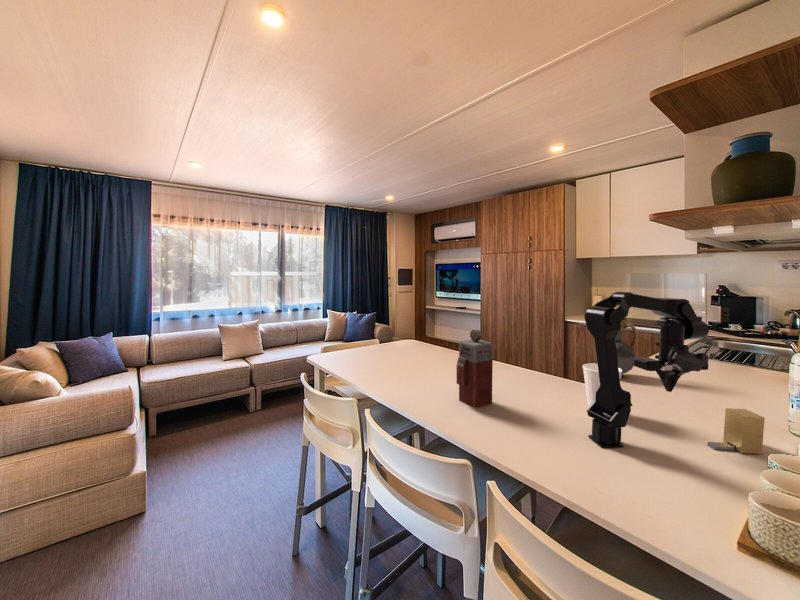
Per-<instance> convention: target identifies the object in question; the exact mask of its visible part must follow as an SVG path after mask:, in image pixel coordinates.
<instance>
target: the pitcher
mask: <svg viewBox="0 0 800 600" xmlns="http://www.w3.org/2000/svg"><path fill="white" fill-rule="evenodd" d="M626 322H627V317H625V318H624V319H623V320H622V321H621V324H620V330H619V332H618V334H617V335H616V337H615V342H616V351H617V360H618V368H620V369H622V371H623V372H622V374H621V379H623V378H625V375H624V374H627V373H629V372H630V371H631V370H632V369H633V368H634V367H635V366H634V360H635V359H636V354H635V351H634V350H635V349H634V348H633V345H634V344H635V341H636V339H637V333H638V332H637V329H636V327H635V325H634V324H632V323H627V324H625V323H626ZM627 328H630V329H632V332H633V335H632V339H631V343H630V344H628V343H626V342H624V341H623V333H624V330H625V329H627ZM595 361H596V362H597V355H596V354H595Z"/></svg>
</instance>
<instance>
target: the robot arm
mask: <svg viewBox="0 0 800 600" xmlns="http://www.w3.org/2000/svg"><path fill="white" fill-rule="evenodd" d="M631 308H635V309H639V310H640V309H641V310H646V311H651V312H652V313H653V314H655V315H658V316H660V318H659V319H658V320H656V321H655V322H654V325H655V326H659V341H656V342H655V346H658V354H655V355H654V358H655V359H654V358H651V357H648V356H645V357H643V356H641V357H640V356H639V357H637V356H636V357H635V360H634V366H633V367H635V368H638V369H642V370H644V371H647V372H656V374H657V375H658V377H659V379H660V381H661V383H662V385H663V387H664V389H665V391H666V392H668V393H672V392H673V390H674V388H675V386H676V384H677V383H678V381H679V380H680V378H681V376H683V375H685V374H689V373H691V372H698V373H699V372H700V371H708V370H709V355H708V354H707V353H704V352H698V353H694V352H693V353H692V352H690V351H689V349H690V348H689V345H686V344H685V340H697V339H705V338H706V337H707V336H708V334H709V332H710V329H709V326H708V325H707V323H706V322H705V321H703V317H702V316H697V314H696V312H695V310H694V308H693V307H692V305H691V304H690V301H689V300H688V299H686V298H671V297H652V296H646V295H642V294H641V295H640V294H636V293H632V292H630V291H616V292H614V293H612V294H611V295H610V296H608V297H606V298H604V299H602V300H600V301H598V302H595V304H593V305H592V306H590V307H588V309H587V310H586V311H585V312H584V321H585V324H586V328H587V330H588V331H589V332H590V334H591V335H592V337H593V340H594V346H595V356H596V355H597V361H596V363H598V372H599V380H600V387H599V388H598V390H597V392H596V396H595V401H594V402H593V403H592V404H591V406H590V407H589V406H588V408H587V409H586V412H587V416H588V417H590V418H592V420H591V421H592V424H591V434H588V436H587V437H588V438H589V440H592V441H593V442H594V443H595V444H597V445H598V446H599V447H600V448H605V449H606V448H609V449H610V448H623V447H624V444H623V443H622V428H625V427H626V426H627V424H628V420H629V418H630V415H631V412H632V407H633V404H632V400H631V399H632V394H631V392H630V391H627V390H624V389H623V387H622V386H621V379H620V377H619V369H618V360H617V351H616V342H615V337H616V335H617V334H618V332H619V330H620V324H621V321H622V320H623V319H624V318H625V317H626V318H627V317H628V315H629V312H630V309H631ZM603 413H605V414H607V415H610V416H607V415H605V414H603Z"/></svg>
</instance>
